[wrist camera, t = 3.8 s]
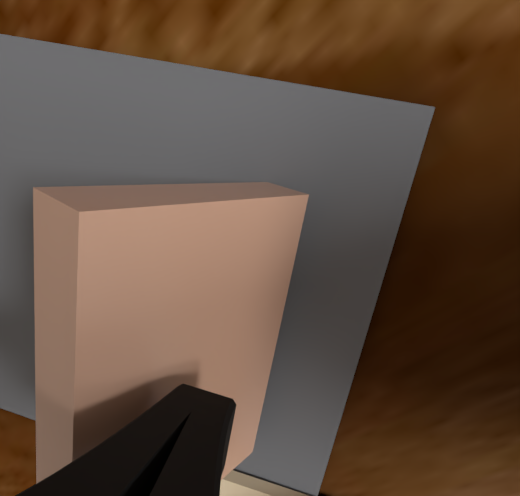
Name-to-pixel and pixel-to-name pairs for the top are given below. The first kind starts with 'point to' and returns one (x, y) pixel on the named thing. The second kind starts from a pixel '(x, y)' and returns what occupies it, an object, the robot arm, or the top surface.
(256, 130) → the mat
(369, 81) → the top surface
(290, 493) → the turner
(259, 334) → the block
